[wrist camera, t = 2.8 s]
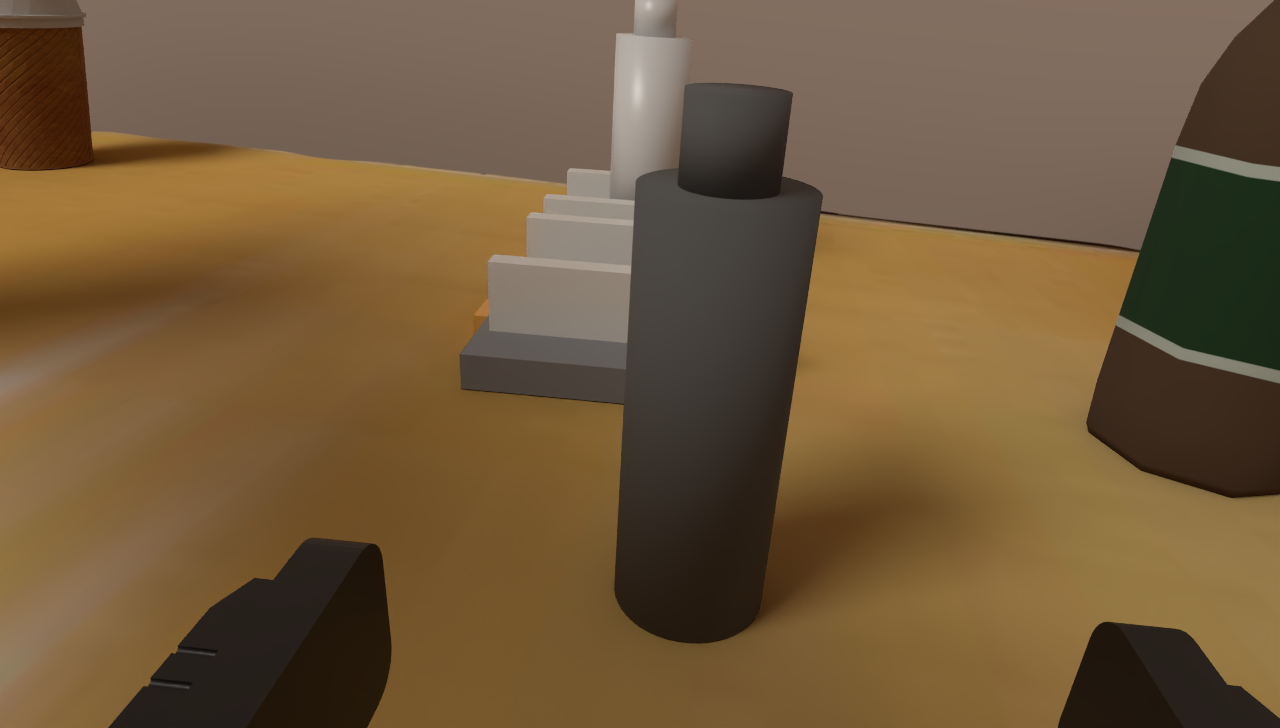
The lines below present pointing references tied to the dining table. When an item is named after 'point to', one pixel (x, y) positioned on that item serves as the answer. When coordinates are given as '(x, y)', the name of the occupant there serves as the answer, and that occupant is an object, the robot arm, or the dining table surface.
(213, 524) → the dining table surface
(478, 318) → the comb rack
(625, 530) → the dark grey bottle
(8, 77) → the disposable coffee cup
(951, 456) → the dining table surface
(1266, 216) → the beer bottle
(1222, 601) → the dining table surface
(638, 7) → the white bottle
